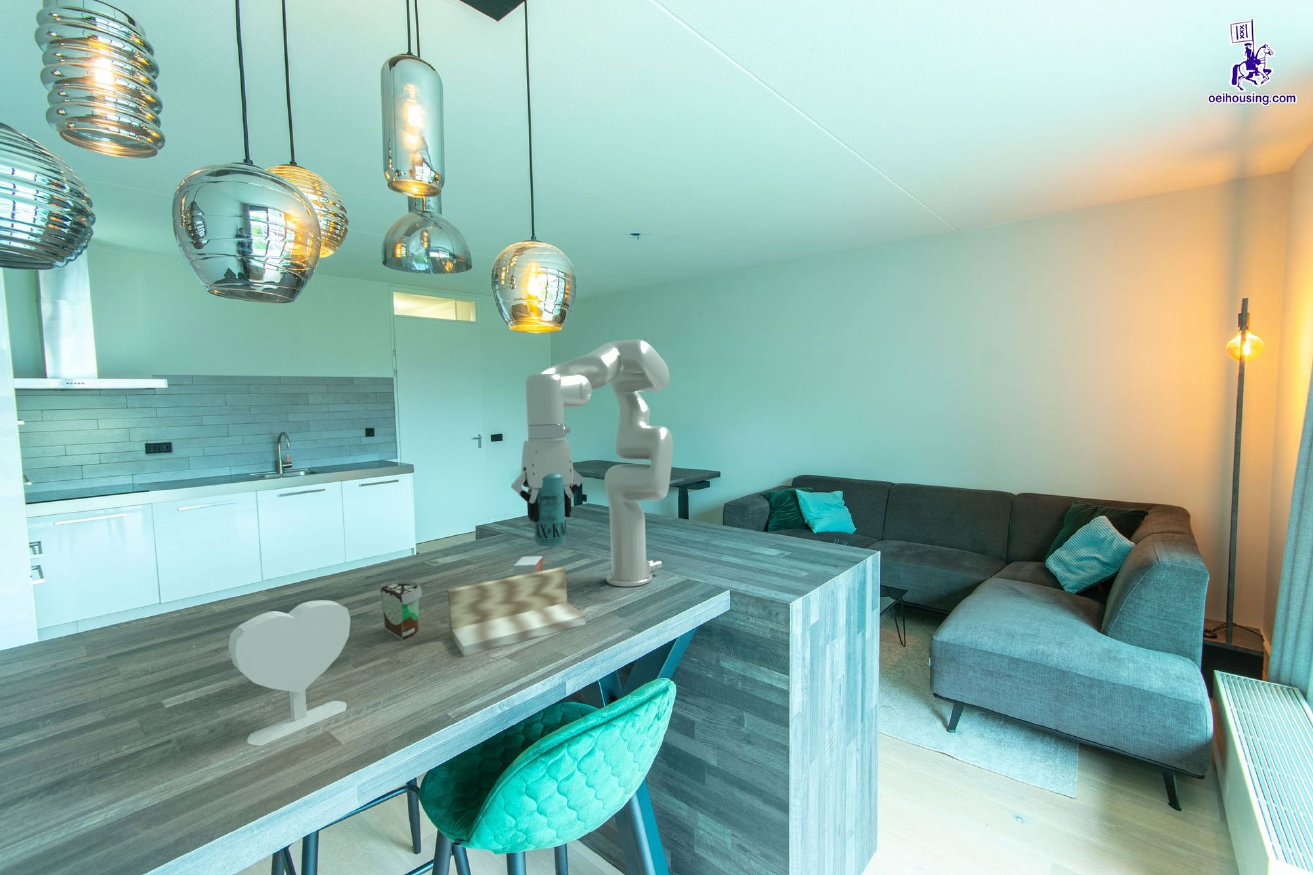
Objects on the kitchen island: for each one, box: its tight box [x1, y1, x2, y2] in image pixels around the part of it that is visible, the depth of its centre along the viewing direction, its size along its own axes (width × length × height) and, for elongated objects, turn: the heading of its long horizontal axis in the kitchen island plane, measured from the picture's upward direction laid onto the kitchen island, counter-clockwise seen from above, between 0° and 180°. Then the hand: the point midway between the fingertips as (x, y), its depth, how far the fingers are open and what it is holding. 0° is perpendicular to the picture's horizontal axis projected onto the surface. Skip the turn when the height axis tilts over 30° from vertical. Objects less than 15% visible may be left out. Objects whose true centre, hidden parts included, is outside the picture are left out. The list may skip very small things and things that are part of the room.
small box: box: [513, 555, 545, 577], centre depth 137 cm, size 8×6×10 cm
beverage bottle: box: [533, 473, 567, 547], centre depth 117 cm, size 6×7×20 cm
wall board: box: [447, 566, 587, 657], centre depth 121 cm, size 26×12×10 cm, turn 122°
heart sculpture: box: [228, 599, 351, 747], centre depth 87 cm, size 16×5×18 cm, turn 140°
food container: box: [379, 580, 423, 641], centre depth 123 cm, size 12×6×10 cm, turn 47°
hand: (550, 518), depth 117 cm, fingers closed on beverage bottle, 6 cm apart
